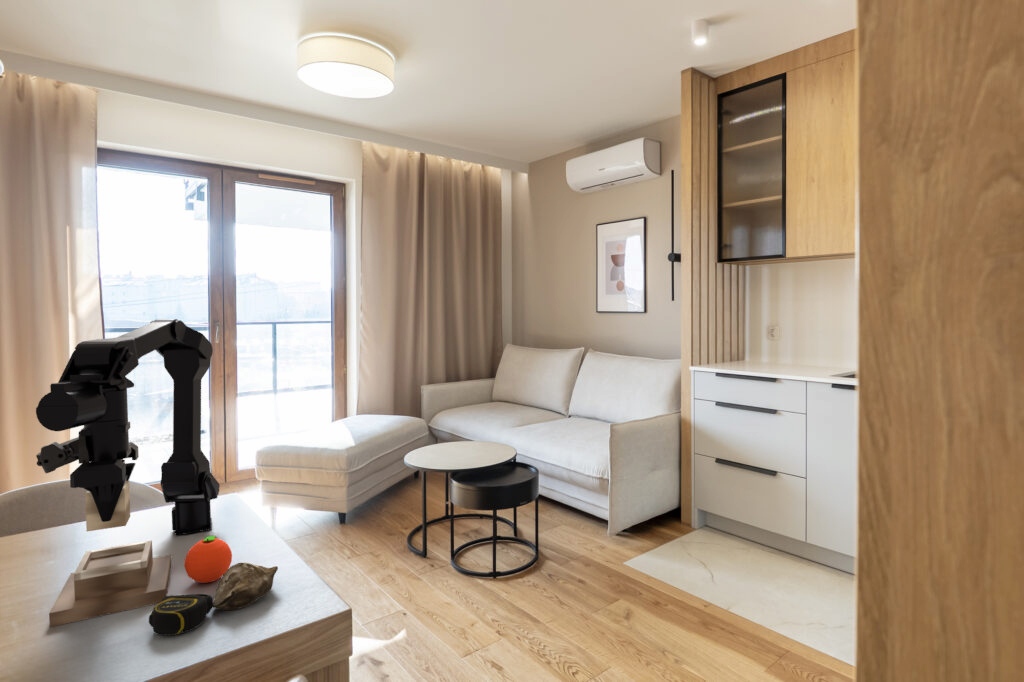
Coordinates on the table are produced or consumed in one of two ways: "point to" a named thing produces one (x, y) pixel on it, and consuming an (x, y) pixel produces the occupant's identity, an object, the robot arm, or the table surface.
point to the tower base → (112, 583)
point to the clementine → (208, 560)
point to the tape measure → (180, 613)
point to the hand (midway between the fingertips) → (109, 516)
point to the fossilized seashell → (243, 585)
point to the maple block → (119, 515)
